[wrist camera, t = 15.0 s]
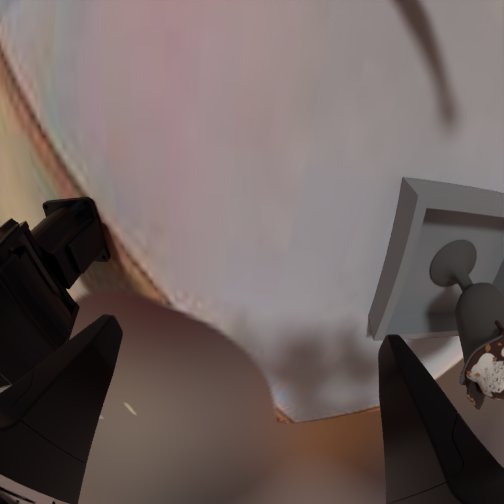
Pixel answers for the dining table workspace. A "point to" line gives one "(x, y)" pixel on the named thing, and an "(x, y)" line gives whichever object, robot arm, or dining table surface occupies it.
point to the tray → (425, 249)
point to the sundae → (474, 321)
